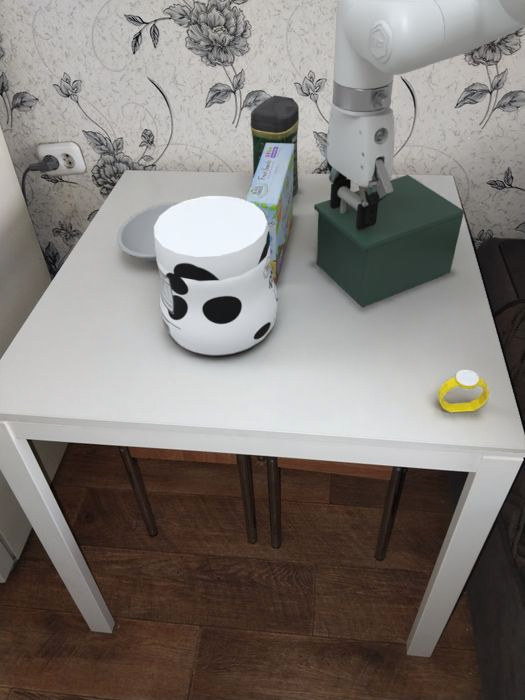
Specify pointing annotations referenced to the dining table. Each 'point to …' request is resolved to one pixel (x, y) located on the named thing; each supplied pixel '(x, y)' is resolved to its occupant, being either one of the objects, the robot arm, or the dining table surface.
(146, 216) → the dish
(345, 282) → the bin
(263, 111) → the coffee jar
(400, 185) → the bin lid
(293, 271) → the dining table surface
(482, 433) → the dining table surface
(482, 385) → the watch
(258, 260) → the doce de leite jar
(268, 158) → the snack box
